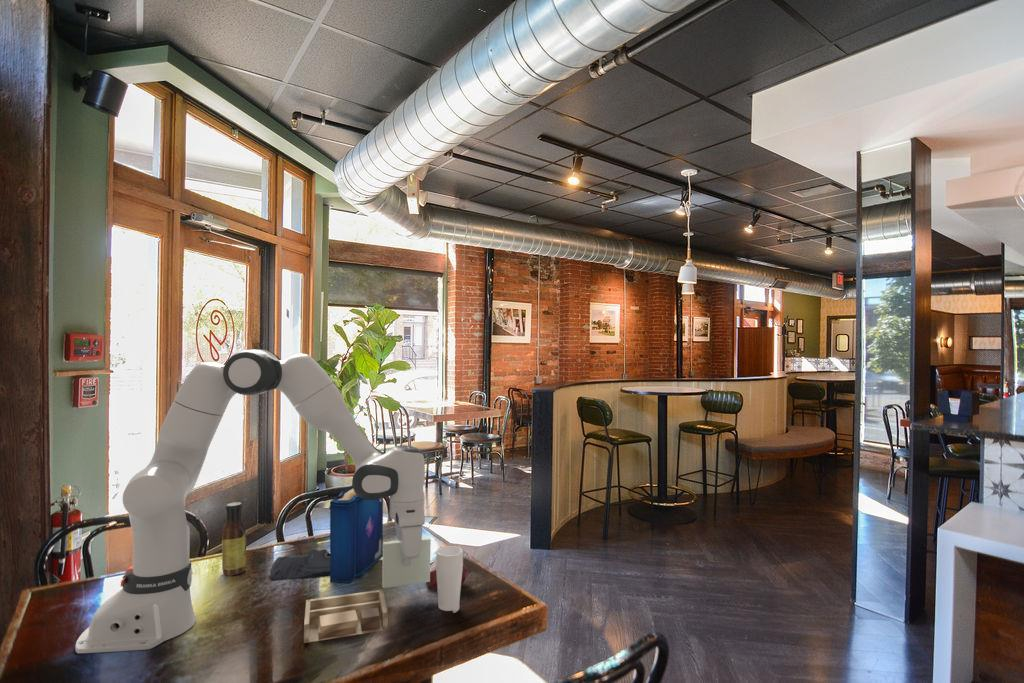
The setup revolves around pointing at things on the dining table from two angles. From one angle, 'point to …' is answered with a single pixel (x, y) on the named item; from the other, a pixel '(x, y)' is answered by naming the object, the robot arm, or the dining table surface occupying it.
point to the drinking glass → (449, 577)
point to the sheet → (405, 575)
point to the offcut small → (370, 619)
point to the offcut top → (338, 621)
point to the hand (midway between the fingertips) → (406, 562)
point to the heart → (433, 575)
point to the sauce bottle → (234, 541)
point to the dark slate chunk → (301, 566)
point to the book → (354, 535)
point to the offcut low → (336, 633)
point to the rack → (343, 604)
